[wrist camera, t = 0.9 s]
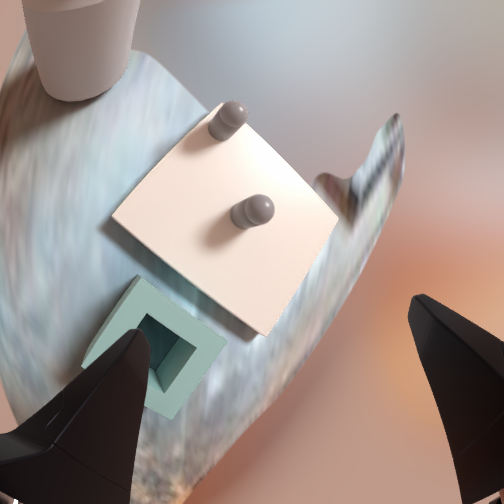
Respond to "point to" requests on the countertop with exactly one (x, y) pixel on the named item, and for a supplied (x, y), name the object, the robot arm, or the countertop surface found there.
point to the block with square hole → (179, 357)
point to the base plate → (230, 217)
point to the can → (80, 44)
